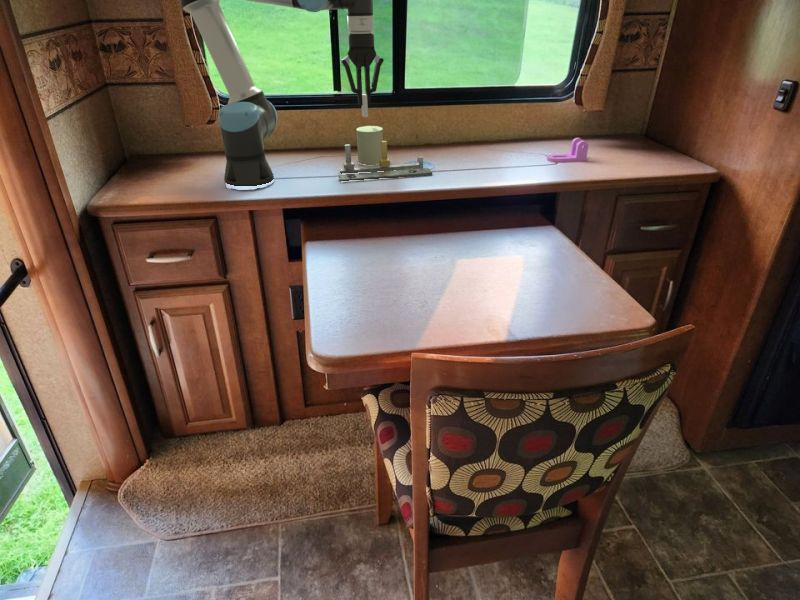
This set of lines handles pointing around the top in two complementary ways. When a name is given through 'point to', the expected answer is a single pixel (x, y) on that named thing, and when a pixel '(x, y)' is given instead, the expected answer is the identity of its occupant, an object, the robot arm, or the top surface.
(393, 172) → the hole plate
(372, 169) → the rail
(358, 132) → the can
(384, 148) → the slider
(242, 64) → the robot arm
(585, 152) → the bracket
